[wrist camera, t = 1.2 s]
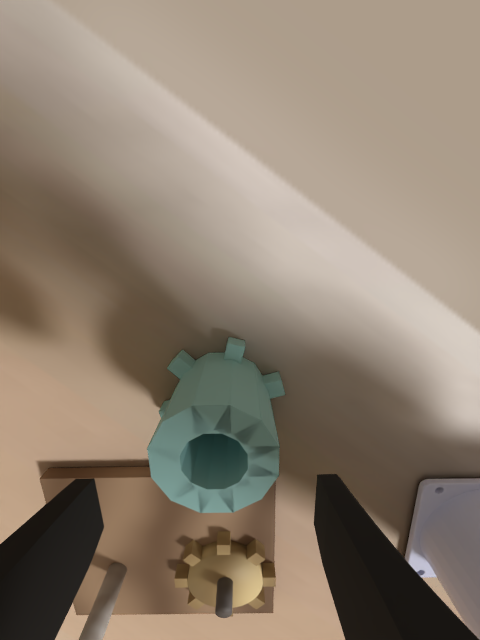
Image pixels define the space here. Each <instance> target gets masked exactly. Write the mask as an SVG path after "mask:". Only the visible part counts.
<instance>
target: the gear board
mask: <svg viewBox="0 0 480 640" xmlns="http://www.w3.org/2000/svg"><path fill="white" fill-rule="evenodd" d="M91 478H94V479H95V484H96V489H97V493H98V498H99V503H100V508H101V513H102V518H103V523H104V529H103V532H102V535H101V537H100V540H99V543H98V546H97V548H96V551H95V554H94V556H93V559H92V561H91V564H90V567H89V569H88V571H87V573H86V575H85V577H84V580H83V582H82V584H81V586H80V588H79V590H78V592H77V594H76V596H75V598H74V601H73V604H74V608H75V611H76V615H89V616H88V619H87V621H86V623H85V626H84V628H83V631H82V633H81V636H80V638H79V640H103V637H104V634H105V631H106V628H107V625H108V623H109V620H110V617H111V615H125V614H216V615H217V616H218V617H221V618H227V617H230V616H233V613H273V593H274V586H275V585H276V576H275V567H274V542H275V491H276V480H275V481H274V483H273V484H272V486H271V487H270V488H269V490H268V491H267V492H266V494H265V495H264V497H263V498H262V499H261V500H259V501H257V502H255V503H252V504H250V505H248V506H246V507H244V508H242V509H240V510H238V511H235V512H234V513H199V512H197V511H195V510H192V509H190V508H188V507H185V506H183V505H180V504H178V503H176V502H173V501H171V500H170V499H169V498H168V497H167V495H166V494H165V493H164V492H163V491H162V490H161V488H160V487H159V486H158V485H157V484H156V482H155V481H154V480H153V479H152V478H151V472H150V467H85V468H49V469H48V470H47V471H46V472H45V473H44V475H43V476H42V477H41V478H40V482H41V486H42V489H43V493H44V497H45V501H46V504H47V503H48V502H49V501H51V500H52V499H53V498H54V497H55V496H56V495H57V494H58V493H60V492H61V491H62V490H63V489H64V488H65V487H67V486H68V485H69V484H70V483H71V482H72V481H74V480H75V479H91Z"/></svg>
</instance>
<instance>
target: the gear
mask: <svg viewBox="0 0 480 640" xmlns="http://www.w3.org/2000/svg"><path fill="white" fill-rule="evenodd" d="M244 350H245V340H241V339H236V338H232V337H228V341H227V345H226V349H225V352H223V353H207V354H206V355H204V356H202V357H200V358H199V359H197V360H194V359H193V358H192V357H191V356H190V355H189V354H187V353H186V352H185V351H184V350H183V349H182V350H181V351H180V353H179V354H178V355H177V356H176V357H175V358H174V359H173V360H172V361H171V363H170V364H169V366H168V367H167V369H168V370H169V371H171V372H172V373H173V374H174V375H176V376H177V377H178V378H179V379H180V381H179V383H178V384H177V386H176V388H175V390H174V393H173V395H172V397H171V399H170V400H167V401H164V402H163V404H162V406H161V408H160V410H159V414H160V416H161V420H160V422H159V424H158V426H157V429H156V431H155V433H154V435H153V437H152V439H151V441H150V443H149V446H148V448H147V450H148V457H149V465H150V472H151V478H152V479H153V480H154V481H155V482H156V484H157V485H158V486H159V487H160V488H161V490H162V491H163V492H164V493H165V494H166V495H167V497H168V498H169V499H170V500H171V501H173V502H176V503H178V504H180V505H183V506H185V507H188V508H190V509H192V510H195V511H197V512H199V513H234V512H235V511H238V510H240V509H242V508H244V507H246V506H248V505H250V504H252V503H255V502H257V501H259V500H261V499H262V498H263V497H264V495H265V494H266V492H267V491H268V490H269V488H270V487H271V486H272V484H273V483H274V481H275V480H276V479H277V477H278V476H279V448H280V446H279V441H278V436H277V431H276V426H275V421H274V416H273V411H272V406H271V401H270V399H271V398H275V397H279V396H283V395H285V391H284V388H283V384H282V380H281V377H280V374H279V371H278V372H275V373H271V374H267V375H263V376H262V374H261V372H260V371H259V369H258V368H257V366H256V365H255V363H253V362H251V361H249V360H247V359H245V358H243V354H244Z"/></svg>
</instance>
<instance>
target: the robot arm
mask: <svg viewBox="0 0 480 640" xmlns="http://www.w3.org/2000/svg"><path fill="white" fill-rule="evenodd" d="M314 526H315V531H316V536H317V540H318V545H319V550H320V554H321V559H322V563H323V567H324V570H325V574H326V577H327V580H328V584H329V587H330V590H331V594H332V597H333V600H334V604H335V607H336V610H337V613H338V617H339V620H340V623H341V626H342V630H343V633H344V636H345V640H480V478H467V479H425V480H423V481H422V482H421V483H420V485H419V488H418V493H417V498H416V504H415V509H414V514H413V519H412V524H411V529H410V534H409V539H408V544H407V549H406V554H405V559H404V557H403V556H402V555H401V554H400V553H399V552H398V550H397V549H396V548H395V547H394V546H393V544H392V543H391V542H390V541H389V540H388V538H387V537H386V536H385V535H384V534H383V532H382V531H381V530H380V529H379V528H378V526H377V525H376V524H375V523H374V521H373V520H372V519H371V518H370V516H369V515H368V514H367V513H366V511H365V510H364V509H363V508H362V506H361V505H360V504H359V502H358V501H357V500H356V499H355V497H354V496H353V495H352V493H351V492H350V491H349V489H348V488H347V487H346V485H345V484H344V483H343V481H342V480H341V479H340V477H339V476H338V475H337V474H323V475H317V487H316V501H315V515H314ZM103 529H104V523H103V518H102V513H101V508H100V503H99V498H98V493H97V489H96V484H95V479H94V478H91V479H75V480H74V481H72V482H71V483H70V484H69V485H68V486H67V487H65V488H64V489H63V490H62V491H61V492H60V493H58V494H57V495H56V496H55V497H54V498H53V499H52V500H51V501H49V502H48V503H47V504H46V505H45V506H44V507H43V508H41V509H40V510H39V511H38V512H37V513H36V514H35V515H34V516H32V517H31V518H30V519H29V520H28V521H27V522H26V523H24V524H23V525H22V526H21V527H20V528H19V529H17V530H16V531H15V532H14V533H13V534H12V535H10V536H9V537H8V538H7V539H6V540H5V541H4V542H2V543H1V544H0V640H55V638H56V636H57V634H58V632H59V630H60V627H61V625H62V623H63V621H64V619H65V617H66V615H67V613H68V611H69V609H70V607H71V605H72V603H73V601H74V598H75V596H76V594H77V592H78V590H79V588H80V586H81V584H82V582H83V580H84V577H85V575H86V573H87V571H88V569H89V567H90V564H91V561H92V559H93V556H94V554H95V551H96V548H97V546H98V543H99V540H100V537H101V535H102V532H103ZM421 577H437V578H438V580H439V581H440V583H441V585H442V586H443V588H444V590H445V591H446V593H447V595H448V596H449V598H450V600H451V601H452V603H453V605H454V606H455V608H456V610H457V611H458V613H459V615H460V616H461V618H462V620H463V621H464V623H465V624H464V623H463V622H462V621H461V620H460V619H459V618H458V617H457V616H456V615H455V614H454V613H453V612H452V611H451V610H450V608H449V607H448V606H447V605H446V604H445V603H444V602H443V601H442V600H441V599H440V598H439V597H438V596H437V594H436V593H435V592H434V591H433V590H432V589H431V588H430V587H429V586H428V584H427V583H426V582H425V581H424V580H423V579H422V578H421Z"/></svg>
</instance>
